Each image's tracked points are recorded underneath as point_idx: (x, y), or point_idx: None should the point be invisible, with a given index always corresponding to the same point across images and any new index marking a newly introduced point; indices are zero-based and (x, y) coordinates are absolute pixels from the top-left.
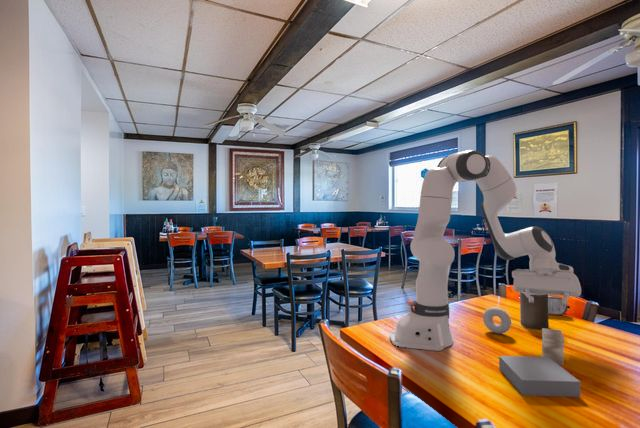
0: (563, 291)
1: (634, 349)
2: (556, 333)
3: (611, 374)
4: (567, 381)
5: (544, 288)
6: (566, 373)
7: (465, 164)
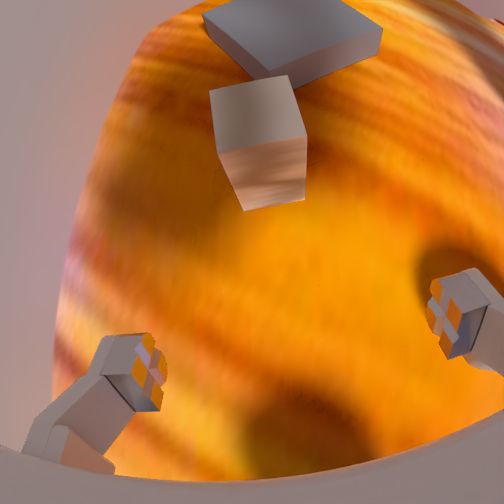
0: (58, 465)
1: None
2: (236, 99)
3: (121, 177)
4: (224, 4)
5: (360, 476)
6: (224, 23)
7: None
